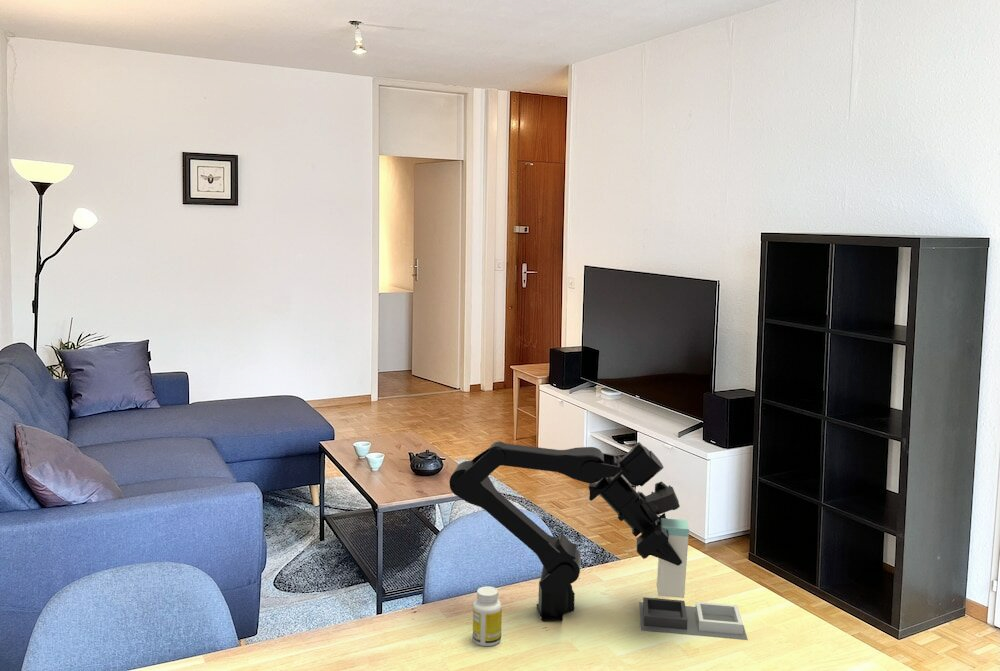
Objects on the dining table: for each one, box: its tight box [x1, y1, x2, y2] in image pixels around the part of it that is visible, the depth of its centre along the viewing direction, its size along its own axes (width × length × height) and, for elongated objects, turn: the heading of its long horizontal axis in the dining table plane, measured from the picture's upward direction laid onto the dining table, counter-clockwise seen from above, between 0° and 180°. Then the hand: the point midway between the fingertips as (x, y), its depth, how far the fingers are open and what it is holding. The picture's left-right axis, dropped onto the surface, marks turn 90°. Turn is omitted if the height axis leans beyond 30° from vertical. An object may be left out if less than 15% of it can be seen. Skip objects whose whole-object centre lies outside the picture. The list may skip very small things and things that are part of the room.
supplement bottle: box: [472, 586, 503, 647], centre depth 155 cm, size 5×5×10 cm
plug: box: [656, 517, 690, 599], centre depth 162 cm, size 5×5×14 cm
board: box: [639, 596, 749, 641], centre depth 163 cm, size 20×12×3 cm, turn 82°
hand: (679, 558), depth 161 cm, fingers closed on plug, 5 cm apart
